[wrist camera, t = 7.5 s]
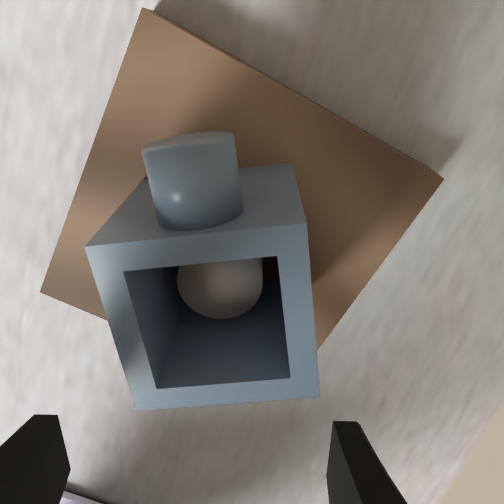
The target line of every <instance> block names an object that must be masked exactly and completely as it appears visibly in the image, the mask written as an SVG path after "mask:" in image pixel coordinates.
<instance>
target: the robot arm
mask: <svg viewBox="0 0 504 504" xmlns="http://www.w3.org/2000/svg"><path fill="white" fill-rule="evenodd" d="M70 470H71V469H70V464H69V460H68V456H67V452H66V448H65V444H64V440H63V435H62V431H61V427H60V423H59V419H58V415H34V416H32V417H31V418H30V419H29V420H28V421H27V422H26V423H25V424H24V425H23V426H22V427H20V428H19V429H18V430H17V431H16V432H15V433H14V434H13V435H12V436H11V437H10V438H9V439H8V440H7V441H6V442H4V443H3V444H2V445H1V446H0V504H102V503H99V502H96V501H93V500H90V499H87V498H84V497H81V496H78V495H75V494H72V493H69V492H66V491H64V489H65V486H66V483H67V479H68V476H69V473H70ZM326 476H327V486H328V495H329V504H407V502H406V501H405V499H404V498H403V496H402V495H401V493H400V492H399V490H398V489H397V487H396V486H395V484H394V483H393V481H392V480H391V478H390V476H389V475H388V473H387V472H386V470H385V468H384V467H383V465H382V463H381V462H380V460H379V458H378V457H377V455H376V453H375V451H374V450H373V448H372V446H371V444H370V442H369V441H368V439H367V437H366V435H365V433H364V431H363V429H362V427H361V425H360V424H359V423H358V422H350V421H333V427H332V435H331V443H330V451H329V459H328V467H327V475H326Z"/></svg>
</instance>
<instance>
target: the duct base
mask: <svg viewBox="0 0 504 504" xmlns="http://www.w3.org/2000/svg"><path fill="white" fill-rule="evenodd" d="M210 131H223V132H230V133H232V134H233V135H234V141H235V148H236V155H237V162H238V168H245V167H253V166H262V165H271V164H279V163H288V162H292V165H293V169H294V173H295V177H296V181H297V185H298V189H299V193H300V197H301V201H302V205H303V209H304V213H305V217H306V222H307V231H308V245H309V258H310V272H311V285H312V299H313V312H314V326H315V339H316V351H317V350H318V349H319V347H320V346H321V345H322V343H323V342H324V341H325V339H326V338H327V336H328V335H329V334H330V332H331V331H332V330H333V328H334V327H335V326H336V324H337V323H338V322H339V320H340V319H341V318H342V316H343V315H344V314H345V312H346V311H347V309H348V308H349V307H350V305H351V304H352V303H353V301H354V300H355V299H356V297H357V296H358V295H359V293H360V292H361V291H362V289H363V288H364V287H365V285H366V284H367V282H368V281H369V280H370V278H371V277H372V276H373V274H374V273H375V272H376V270H377V269H378V268H379V266H380V265H381V264H382V262H383V261H384V260H385V258H386V257H387V255H388V254H389V253H390V251H391V250H392V249H393V247H394V246H395V245H396V243H397V242H398V241H399V239H400V238H401V237H402V235H403V234H404V233H405V231H406V230H407V228H408V227H409V226H410V224H411V223H412V222H413V220H414V219H415V218H416V216H417V215H418V214H419V212H420V211H421V210H422V208H423V207H424V206H425V204H426V203H427V201H428V200H429V199H430V197H431V196H432V195H433V193H434V192H435V191H436V189H437V188H438V187H439V185H440V184H441V183H442V181H443V180H444V179H443V178H442V177H441V176H439V175H438V174H437V173H435V172H434V171H433V170H431V169H430V168H428V167H426V166H425V165H423V164H421V163H419V162H418V161H416V160H414V159H412V158H411V157H409V156H407V155H405V154H404V153H402V152H400V151H398V150H397V149H395V148H393V147H391V146H390V145H388V144H386V143H384V142H383V141H381V140H379V139H377V138H375V137H374V136H372V135H370V134H368V133H367V132H365V131H363V130H361V129H360V128H358V127H356V126H354V125H353V124H351V123H349V122H347V121H346V120H344V119H342V118H340V117H339V116H337V115H335V114H333V113H332V112H330V111H328V110H326V109H325V108H323V107H321V106H319V105H318V104H316V103H314V102H312V101H311V100H309V99H307V98H305V97H304V96H302V95H300V94H298V93H296V92H295V91H293V90H291V89H289V88H288V87H286V86H284V85H282V84H281V83H279V82H277V81H275V80H274V79H272V78H270V77H268V76H267V75H265V74H263V73H261V72H260V71H258V70H256V69H254V68H253V67H251V66H249V65H247V64H246V63H244V62H242V61H240V60H239V59H237V58H235V57H233V56H232V55H230V54H228V53H226V52H224V51H223V50H221V49H219V48H217V47H216V46H214V45H212V44H210V43H209V42H207V41H205V40H203V39H202V38H200V37H198V36H196V35H195V34H193V33H191V32H189V31H188V30H186V29H184V28H182V27H181V26H179V25H177V24H175V23H174V22H172V21H170V20H168V19H167V18H165V17H163V16H161V15H160V14H158V13H156V12H154V11H152V10H149V9H146V8H142V9H141V12H140V15H139V18H138V20H137V23H136V26H135V29H134V32H133V34H132V37H131V40H130V43H129V45H128V48H127V51H126V54H125V57H124V59H123V62H122V65H121V68H120V70H119V73H118V76H117V79H116V82H115V84H114V87H113V90H112V93H111V95H110V98H109V101H108V104H107V107H106V109H105V112H104V115H103V118H102V121H101V123H100V126H99V129H98V132H97V134H96V137H95V140H94V143H93V146H92V148H91V151H90V154H89V157H88V159H87V162H86V165H85V168H84V171H83V173H82V176H81V179H80V182H79V184H78V187H77V190H76V193H75V196H74V198H73V201H72V204H71V207H70V209H69V212H68V215H67V218H66V221H65V223H64V226H63V229H62V232H61V235H60V237H59V240H58V243H57V246H56V248H55V251H54V254H53V257H52V260H51V262H50V265H49V268H48V271H47V273H46V276H45V279H44V282H43V285H42V287H41V290H40V292H41V293H43V294H45V295H48V296H50V297H53V298H55V299H57V300H60V301H62V302H65V303H67V304H69V305H72V306H74V307H76V308H79V309H81V310H84V311H86V312H88V313H91V314H93V315H96V316H98V317H100V318H103V319H105V320H107V316H106V313H105V310H104V307H103V304H102V301H101V298H100V294H99V291H98V288H97V285H96V282H95V279H94V276H93V273H92V269H91V266H90V263H89V260H88V257H87V254H86V251H85V247H84V246H85V245H86V244H87V243H88V242H89V241H90V240H91V238H92V237H93V236H94V235H95V234H96V233H97V232H98V230H99V229H100V228H101V227H102V226H103V225H104V223H105V222H106V221H107V220H108V219H109V218H110V217H111V215H112V214H113V213H114V212H115V211H116V210H117V209H118V207H119V206H120V205H121V204H122V203H123V202H124V201H125V199H126V198H127V197H128V196H129V195H130V194H131V193H132V191H133V190H134V189H135V188H136V187H137V186H138V184H139V183H140V182H141V181H142V180H143V179H148V177H147V172H146V168H145V164H144V160H143V155H142V151H141V148H142V147H143V146H145V145H147V144H149V143H151V142H154V141H157V140H160V139H164V138H168V137H173V136H177V135H183V134H189V133H197V132H210ZM277 278H280V276H279V267H278V258H277V256H270V257H261V258H251V259H241V260H231V261H221V262H211V263H201V264H191V265H182V266H180V267H179V270H178V274H177V286H178V290H179V293H180V295H181V297H182V299H183V300H184V301H185V303H186V304H187V305H188V306H189V307H190V308H191V309H193V310H194V311H196V312H197V313H199V314H201V315H203V316H206V317H210V318H215V319H229V318H234V317H237V316H240V315H242V314H244V313H245V312H247V311H248V310H250V309H251V308H252V307H253V306H254V305H255V304H256V302H257V301H258V299H259V297H260V295H261V292H262V285H263V280H267V279H277ZM107 321H108V320H107Z"/></svg>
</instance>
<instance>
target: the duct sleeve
mask: <svg viewBox="0 0 504 504" xmlns="http://www.w3.org/2000/svg"><path fill="white" fill-rule="evenodd" d="M141 151H142V155H143V160H144V164H145V168H146V172H147V177H148V179H143V180H142V181H141V182H140V183H139V184H138V186H137V187H136V188H135V189H134V190H133V191H132V193H131V194H130V195H129V196H128V197H127V198H126V199H125V201H124V202H123V203H122V204H121V205H120V206H119V207H118V209H117V210H116V211H115V212H114V213H113V214H112V215H111V217H110V218H109V219H108V220H107V221H106V222H105V223H104V225H103V226H102V227H101V228H100V229H99V230H98V232H97V233H96V234H95V235H94V236H93V237H92V238H91V240H90V241H89V242H88V243H87V244H86V245H85V246H84V247H85V251H86V254H87V257H88V260H89V263H90V266H91V269H92V273H93V276H94V279H95V282H96V285H97V288H98V291H99V294H100V298H101V301H102V304H103V307H104V310H105V313H106V316H107V320H108V323H109V326H110V329H111V332H112V335H113V338H114V342H115V345H116V348H117V351H118V354H119V357H120V360H121V363H122V367H123V370H124V373H125V376H126V379H127V382H128V385H129V389H130V392H131V395H132V398H133V401H134V404H135V407H136V411H144V410H157V409H170V408H183V407H196V406H209V405H222V404H235V403H248V402H261V401H274V400H286V399H299V398H312V397H320V393H319V380H318V366H317V353H316V339H315V326H314V312H313V299H312V285H311V272H310V258H309V245H308V231H307V222H306V217H305V213H304V209H303V205H302V201H301V197H300V193H299V189H298V185H297V181H296V177H295V173H294V169H293V165H292V162H288V163H279V164H271V165H262V166H253V167H245V168H238V162H237V155H236V148H235V141H234V135H233V134H232V133H230V132H223V131H210V132H197V133H189V134H183V135H177V136H173V137H168V138H164V139H160V140H157V141H154V142H151V143H149V144H147V145H145V146H143V147H142V148H141ZM270 256H277V258H278V267H279V276H280V278H277V279H267V280H263V285H262V292H261V295H260V297H259V299H258V301H257V302H256V304H255V305H254V306H253V307H252V308H251V309H250V310H248V311H247V312H245V313H244V314H242V315H240V316H237V317H234V318H229V319H215V318H210V317H206V316H203V315H201V314H199V313H197V312H196V311H194V310H193V309H191V308H190V307H189V306H188V305H187V304H186V303H185V301H184V300H183V299H182V297H181V295H180V293H179V290H178V286H177V274H178V270H179V267H180V266H182V265H191V264H201V263H211V262H221V261H231V260H241V259H251V258H261V257H270Z"/></svg>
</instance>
